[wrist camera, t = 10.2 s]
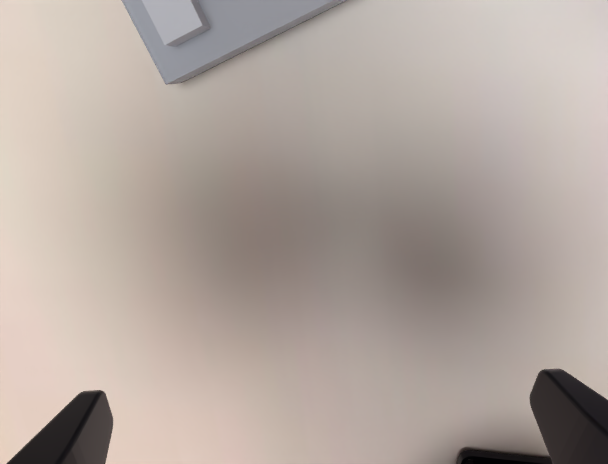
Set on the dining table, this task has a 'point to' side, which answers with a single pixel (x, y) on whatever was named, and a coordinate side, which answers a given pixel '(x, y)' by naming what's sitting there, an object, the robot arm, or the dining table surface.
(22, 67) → the dining table surface
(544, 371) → the robot arm
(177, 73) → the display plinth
